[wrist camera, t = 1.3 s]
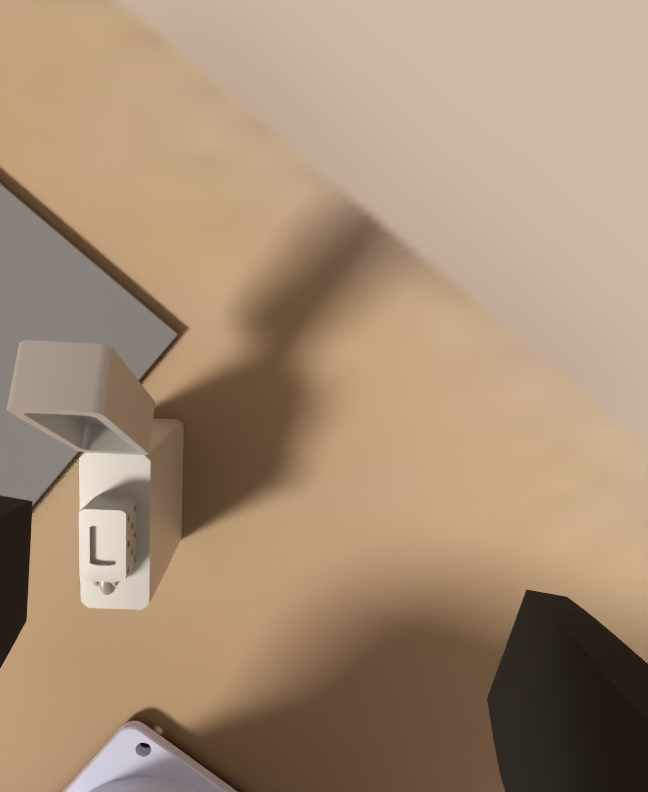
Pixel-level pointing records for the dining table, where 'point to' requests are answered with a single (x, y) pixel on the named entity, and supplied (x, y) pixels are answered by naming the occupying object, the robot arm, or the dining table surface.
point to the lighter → (108, 464)
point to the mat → (57, 331)
